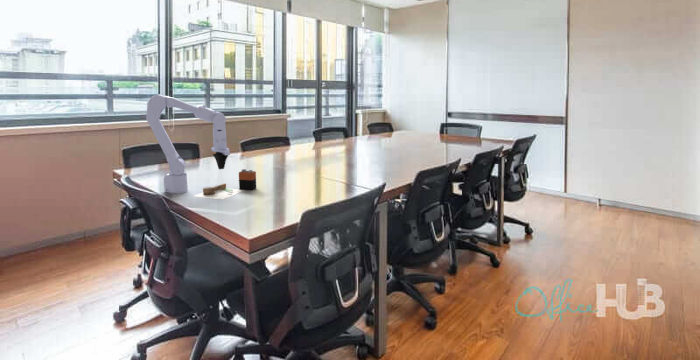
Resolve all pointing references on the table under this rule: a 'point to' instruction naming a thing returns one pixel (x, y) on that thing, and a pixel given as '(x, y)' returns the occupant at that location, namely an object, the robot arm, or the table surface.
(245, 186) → the battery
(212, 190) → the dial
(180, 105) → the robot arm
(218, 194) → the board
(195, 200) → the table surface
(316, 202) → the table surface
